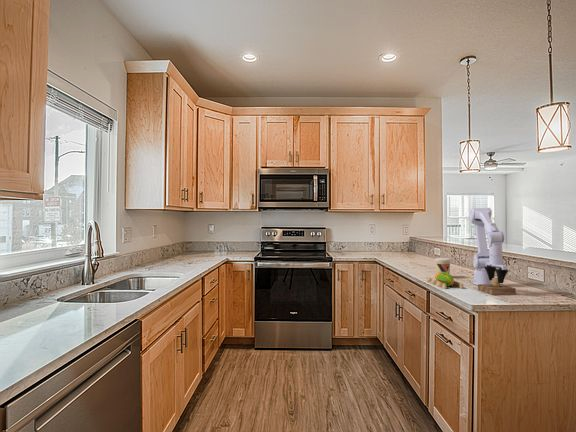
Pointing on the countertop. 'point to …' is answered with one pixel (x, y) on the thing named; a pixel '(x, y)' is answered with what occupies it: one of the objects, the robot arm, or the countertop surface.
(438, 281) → the chock rails
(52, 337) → the countertop surface
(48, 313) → the countertop surface
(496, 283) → the peg
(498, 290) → the walnut block
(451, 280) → the green orange papaya
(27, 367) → the countertop surface
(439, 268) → the coffee cup
